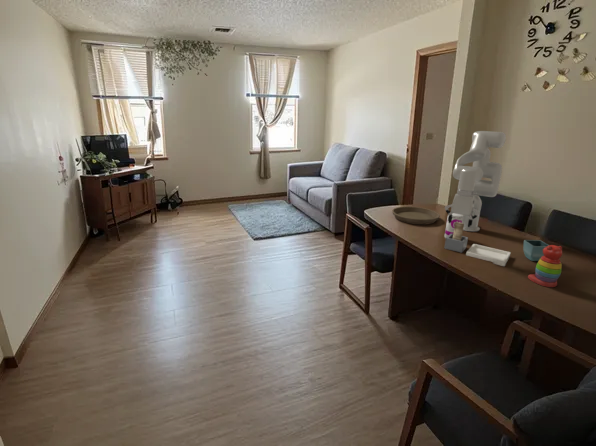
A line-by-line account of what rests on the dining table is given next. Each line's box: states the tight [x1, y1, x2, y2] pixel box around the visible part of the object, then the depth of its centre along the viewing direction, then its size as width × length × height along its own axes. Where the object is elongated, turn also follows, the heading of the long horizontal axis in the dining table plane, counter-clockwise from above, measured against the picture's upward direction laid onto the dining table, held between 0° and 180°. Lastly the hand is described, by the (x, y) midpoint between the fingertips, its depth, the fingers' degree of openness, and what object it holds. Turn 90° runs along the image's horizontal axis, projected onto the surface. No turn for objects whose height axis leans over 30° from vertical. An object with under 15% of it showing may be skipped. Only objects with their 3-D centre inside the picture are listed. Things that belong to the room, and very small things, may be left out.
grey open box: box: [443, 234, 469, 254], centre depth 194 cm, size 9×9×7 cm
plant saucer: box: [391, 206, 441, 225], centre depth 245 cm, size 31×31×5 cm
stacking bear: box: [527, 244, 563, 288], centre depth 159 cm, size 11×10×18 cm
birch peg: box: [452, 222, 464, 241], centre depth 193 cm, size 4×4×14 cm
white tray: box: [465, 243, 511, 267], centre depth 187 cm, size 15×18×2 cm
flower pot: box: [522, 239, 550, 262], centre depth 184 cm, size 9×9×9 cm
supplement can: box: [443, 213, 463, 239], centre depth 208 cm, size 8×8×15 cm
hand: (459, 224), depth 190 cm, fingers open, 9 cm apart
